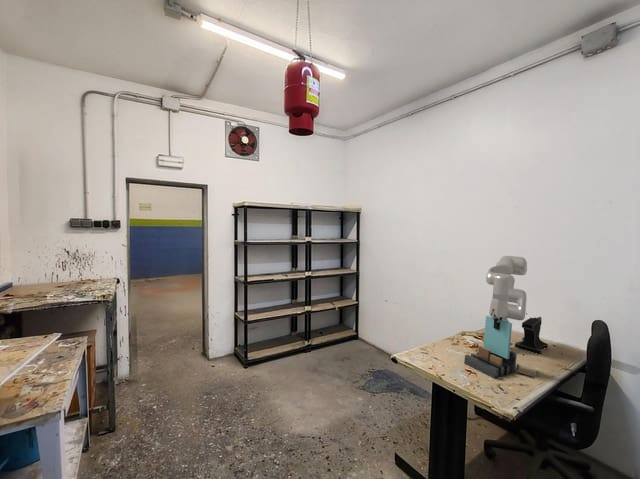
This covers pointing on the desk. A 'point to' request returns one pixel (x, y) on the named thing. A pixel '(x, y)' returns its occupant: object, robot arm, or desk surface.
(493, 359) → the oak offcut
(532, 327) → the anvil
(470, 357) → the offcut rack
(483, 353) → the walnut offcut
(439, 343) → the desk surface
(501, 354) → the tall sheet
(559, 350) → the desk surface
